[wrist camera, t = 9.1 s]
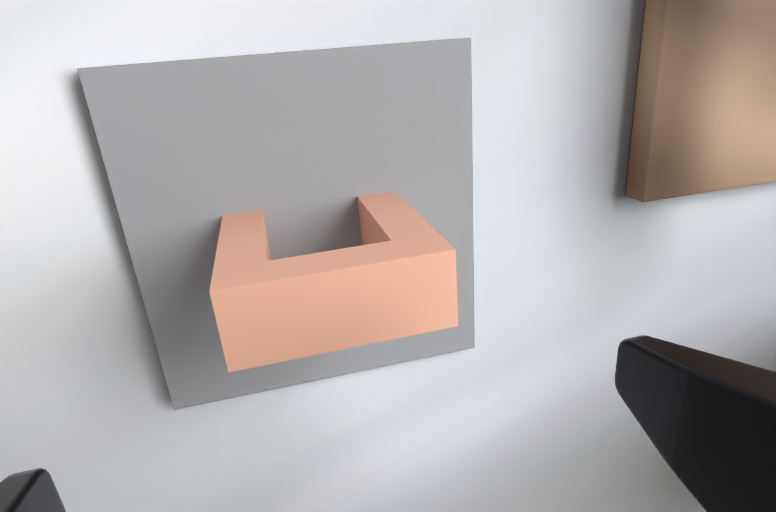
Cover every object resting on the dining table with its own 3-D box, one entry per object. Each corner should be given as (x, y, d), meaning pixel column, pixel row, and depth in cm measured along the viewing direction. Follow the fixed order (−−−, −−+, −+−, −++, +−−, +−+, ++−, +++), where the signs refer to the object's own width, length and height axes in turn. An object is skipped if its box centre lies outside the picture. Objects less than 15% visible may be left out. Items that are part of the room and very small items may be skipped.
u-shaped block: (397, 248, 17) (458, 325, 12) (234, 275, 16) (228, 372, 11) (393, 191, 17) (455, 249, 12) (222, 215, 16) (209, 291, 11)
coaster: (468, 340, 20) (474, 347, 20) (176, 399, 18) (173, 409, 18) (463, 38, 16) (471, 37, 16) (83, 67, 14) (77, 68, 13)
